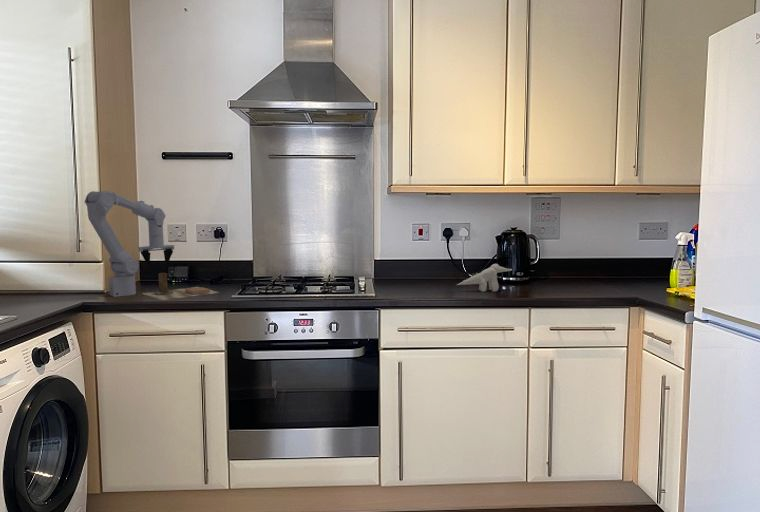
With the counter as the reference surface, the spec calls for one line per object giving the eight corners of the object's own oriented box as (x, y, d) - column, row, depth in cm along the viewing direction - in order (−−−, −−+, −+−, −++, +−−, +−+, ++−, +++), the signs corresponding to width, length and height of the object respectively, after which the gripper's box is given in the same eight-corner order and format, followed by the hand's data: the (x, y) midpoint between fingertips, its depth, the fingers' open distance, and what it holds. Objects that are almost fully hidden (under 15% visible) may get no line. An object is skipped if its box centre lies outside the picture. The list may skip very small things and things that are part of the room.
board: (161, 302, 201) (161, 300, 201) (141, 295, 217) (141, 293, 217) (220, 294, 217) (220, 292, 217) (197, 288, 233) (197, 286, 233)
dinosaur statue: (516, 289, 215) (514, 262, 214) (458, 296, 214) (456, 270, 213) (511, 287, 222) (508, 261, 221) (455, 294, 221) (452, 267, 220)
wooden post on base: (158, 295, 211) (157, 274, 211) (153, 294, 215) (152, 273, 214) (173, 293, 215) (172, 273, 215) (168, 292, 219) (167, 272, 218)
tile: (185, 292, 218) (193, 295, 212) (185, 289, 217) (193, 291, 212) (201, 290, 222) (209, 292, 216) (201, 287, 222) (209, 289, 216)
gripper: (141, 237, 220) (143, 269, 221) (176, 235, 229) (178, 266, 231) (136, 236, 225) (138, 268, 226) (170, 234, 235) (171, 265, 236)
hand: (157, 267), depth 229 cm, fingers open, 7 cm apart
